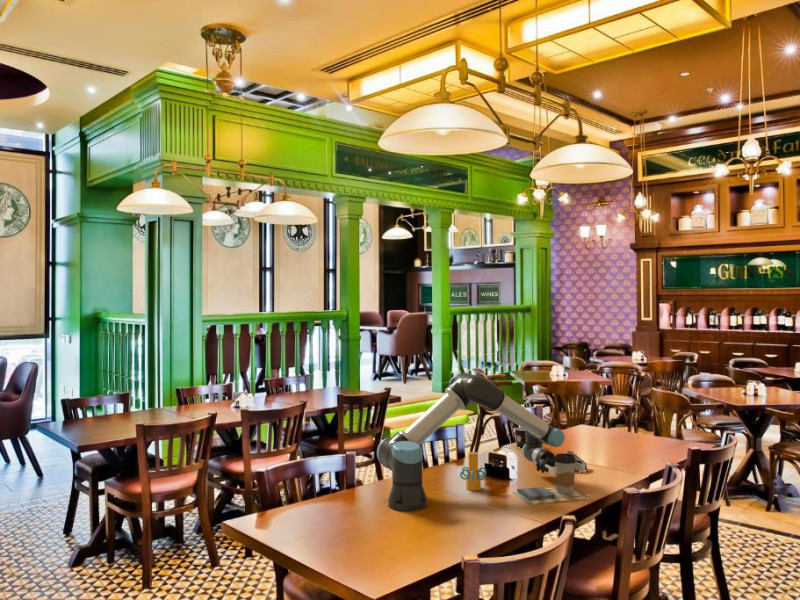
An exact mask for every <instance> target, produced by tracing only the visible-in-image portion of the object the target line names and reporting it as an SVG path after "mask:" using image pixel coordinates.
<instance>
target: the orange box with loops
mask: <svg viewBox="0 0 800 600" xmlns="http://www.w3.org/2000/svg"><path fill="white" fill-rule="evenodd" d="M478 453H479V452H477V451H469V452H468V453H467V459H468V463H467V464H468V465H467V466H463V467H462V469H461V471H460V473H459V477H460V478H461V479H462V480H463V481H464V480H465V483H466V484H465V486H466V490H467V491H470V490H471V492H473V491H474V492H475V491H481V486H482V483H481V482H482V481H484V480H485V478H486V475H487V469H486V468H485V467H482V466H480V467H479V454H478ZM465 472H466V474H465ZM480 472H481V473H482V475H481V474H480ZM463 476H464V477H463Z"/></svg>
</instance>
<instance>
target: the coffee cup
mask: <svg viewBox="0 0 800 600" xmlns="http://www.w3.org/2000/svg"><path fill="white" fill-rule="evenodd" d="M555 456H556V457H555V460H554V461H555V467H554V469H555V484H556V487H557V491H558V493H559V494H563V495H571V494H572V493H573V489H575V487H574V486H575V478H576V477H575V474H576V473H575V462H576V461H575V457H574V455H572V454H567V453H565V452H564V453H563V452H562V453H561V452H560V453H556V454H555Z"/></svg>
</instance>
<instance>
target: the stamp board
mask: <svg viewBox="0 0 800 600" xmlns="http://www.w3.org/2000/svg"><path fill="white" fill-rule="evenodd" d="M511 493H512V494H513V495H514V496H515V497H518V498H519V499H520V500H522V502H524V503H526V504H528V505H529V506H533V505H543V504H544V505H545V504H555V503H554V502H556V503H563V502H562V501H567V502H571V501H570V500H577V499H587V498H590V499H591V496H588V495H587V494H585V493H583V492H582V491H579V490H577V489H576V488H574V489H573V493H572V494H571V495H563V494H559V493H558V491H557V486H556V487H543V486H538V487H525V488H524V487H522V488H517V489H516V490H512V492H511ZM577 501H578V500H577Z"/></svg>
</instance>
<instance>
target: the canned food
mask: <svg viewBox="0 0 800 600" xmlns="http://www.w3.org/2000/svg"><path fill="white" fill-rule="evenodd" d="M566 454H572V455H574V457H575V460H579V461H582V465H584V466H585V470H587V471H588V469H587V468H588V467H587V466H588V465H587V462H585V460H583V459H582V458H581V457H579V456H578V455H577V454H576V453H574V451H572V450H567V452H566ZM575 472H580V471H578V470H576V469H575Z"/></svg>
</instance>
